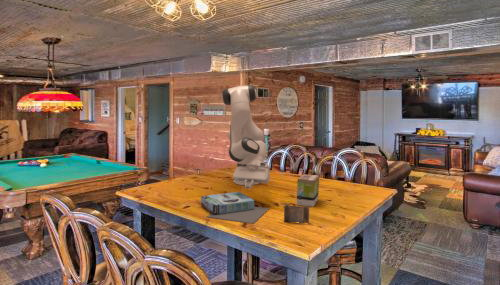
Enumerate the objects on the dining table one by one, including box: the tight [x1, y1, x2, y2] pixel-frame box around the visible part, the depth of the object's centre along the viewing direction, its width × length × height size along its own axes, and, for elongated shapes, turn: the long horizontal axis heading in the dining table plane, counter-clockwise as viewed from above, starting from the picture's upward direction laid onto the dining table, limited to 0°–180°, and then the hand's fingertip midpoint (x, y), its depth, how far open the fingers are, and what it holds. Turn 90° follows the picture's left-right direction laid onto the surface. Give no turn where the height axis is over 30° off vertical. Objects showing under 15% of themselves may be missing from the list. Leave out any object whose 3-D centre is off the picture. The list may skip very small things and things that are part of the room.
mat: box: [206, 205, 270, 225], centre depth 166 cm, size 24×24×1 cm
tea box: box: [295, 173, 320, 207], centre depth 185 cm, size 15×10×15 cm
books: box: [283, 202, 310, 225], centre depth 153 cm, size 11×3×10 cm, turn 77°
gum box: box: [200, 191, 255, 215], centre depth 174 cm, size 19×5×23 cm
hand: (247, 187), depth 175 cm, fingers closed
